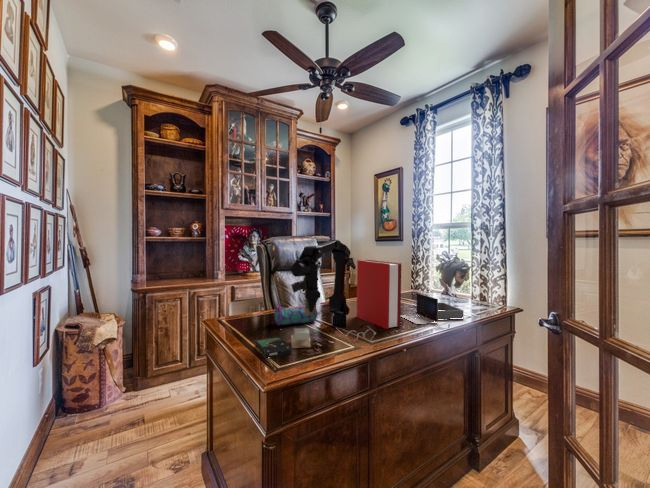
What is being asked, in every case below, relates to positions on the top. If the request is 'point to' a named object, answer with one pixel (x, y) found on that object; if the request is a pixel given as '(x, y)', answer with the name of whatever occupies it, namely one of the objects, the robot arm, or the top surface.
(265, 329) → the top surface
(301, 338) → the tower top
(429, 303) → the laptop
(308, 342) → the tower base
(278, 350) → the disk drive
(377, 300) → the book
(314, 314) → the walnut block
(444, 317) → the charger caddy
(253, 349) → the top surface
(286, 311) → the pencil case
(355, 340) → the eyeglasses
